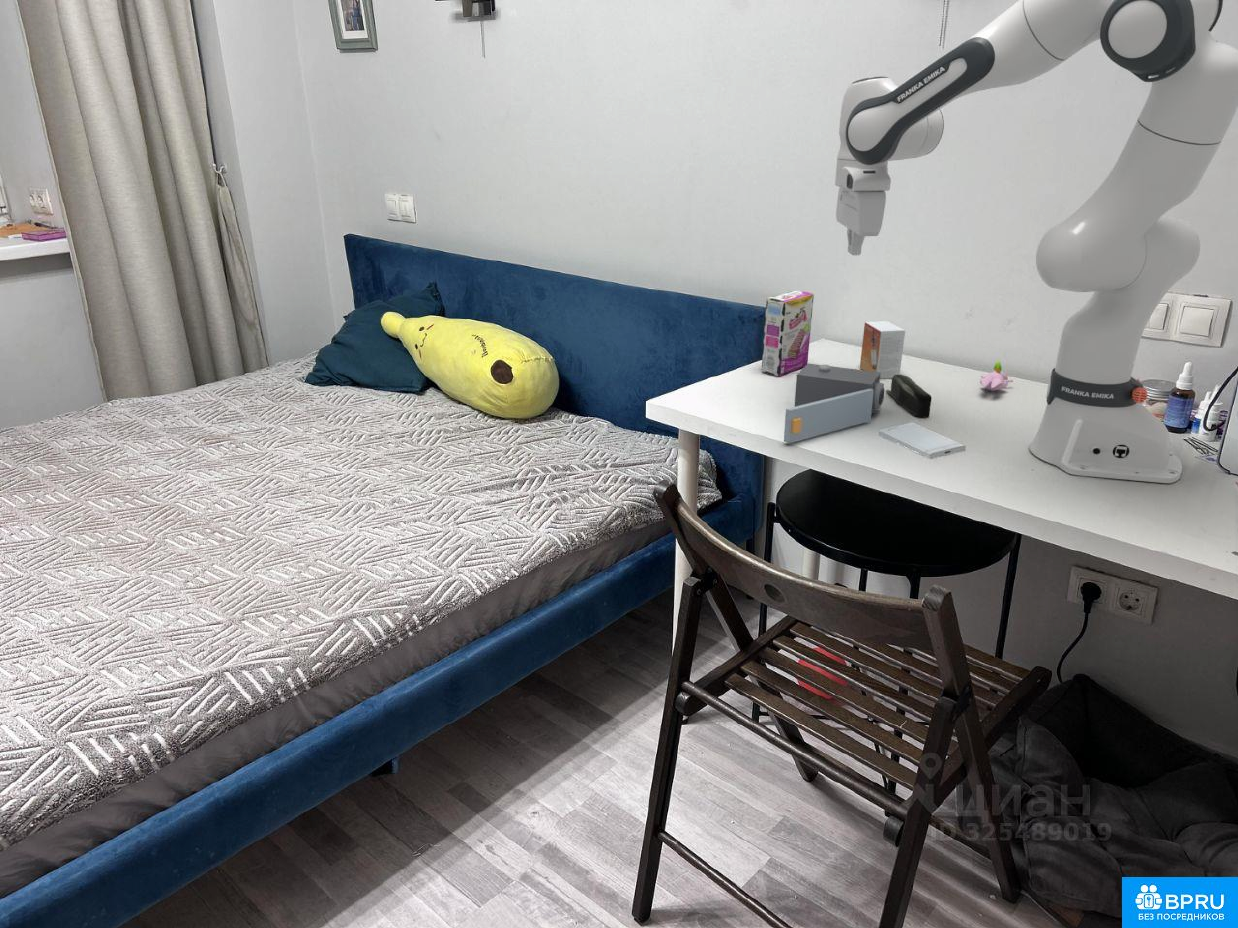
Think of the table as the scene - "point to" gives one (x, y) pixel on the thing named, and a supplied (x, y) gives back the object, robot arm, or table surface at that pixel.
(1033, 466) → the table surface
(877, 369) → the small box
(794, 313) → the candy bar box
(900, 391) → the dark green rounded block
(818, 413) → the side door
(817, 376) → the box
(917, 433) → the hard drive
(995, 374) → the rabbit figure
